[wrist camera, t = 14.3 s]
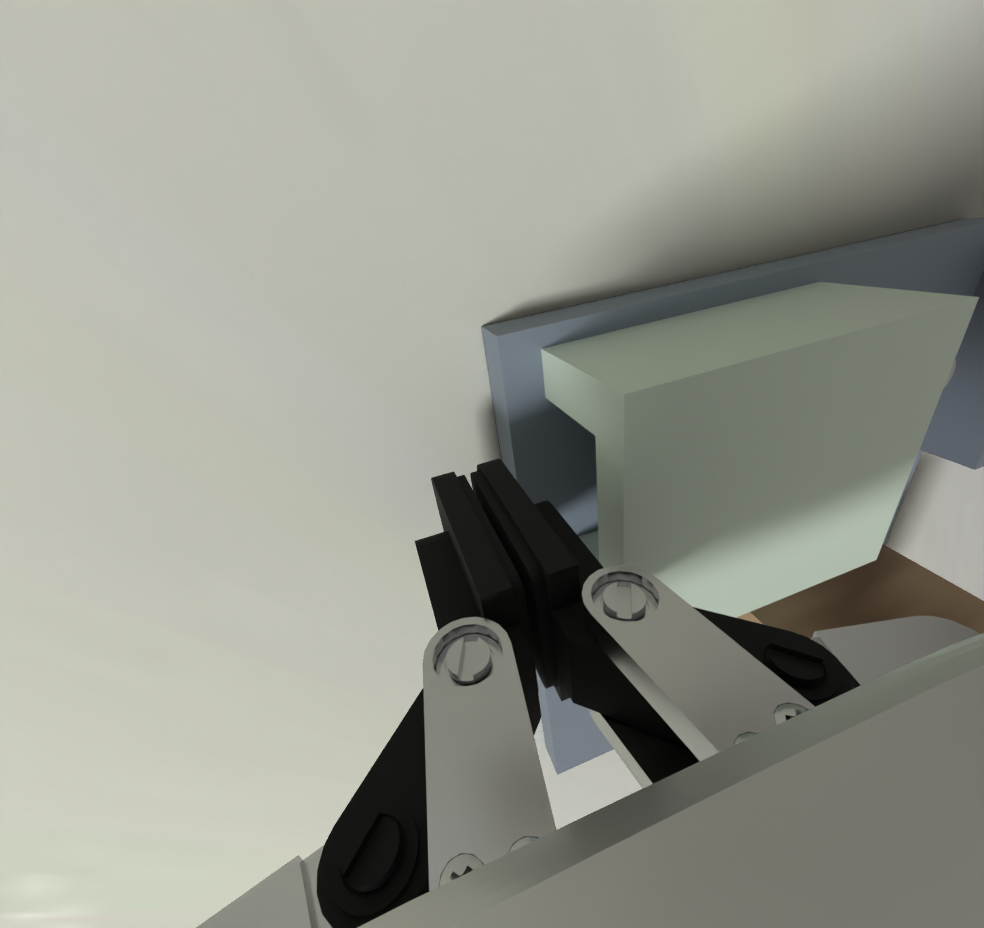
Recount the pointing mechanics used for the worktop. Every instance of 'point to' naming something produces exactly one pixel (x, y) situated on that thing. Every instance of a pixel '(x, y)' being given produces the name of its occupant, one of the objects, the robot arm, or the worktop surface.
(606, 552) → the cover
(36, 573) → the worktop surface
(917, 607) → the collar
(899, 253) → the base
